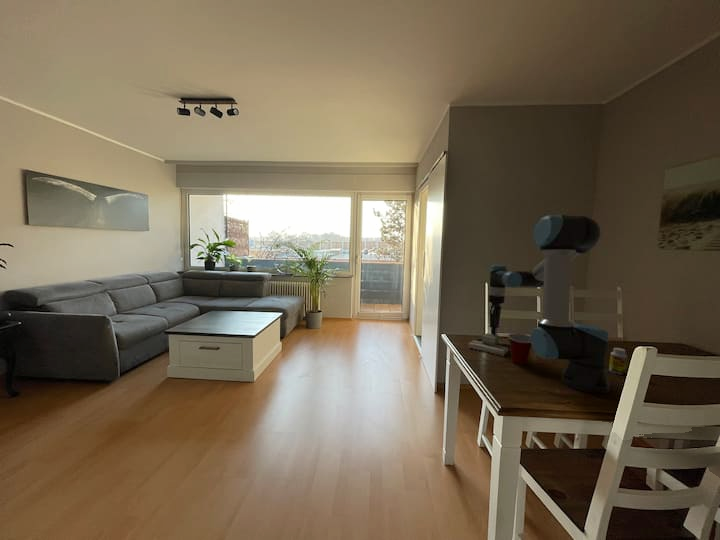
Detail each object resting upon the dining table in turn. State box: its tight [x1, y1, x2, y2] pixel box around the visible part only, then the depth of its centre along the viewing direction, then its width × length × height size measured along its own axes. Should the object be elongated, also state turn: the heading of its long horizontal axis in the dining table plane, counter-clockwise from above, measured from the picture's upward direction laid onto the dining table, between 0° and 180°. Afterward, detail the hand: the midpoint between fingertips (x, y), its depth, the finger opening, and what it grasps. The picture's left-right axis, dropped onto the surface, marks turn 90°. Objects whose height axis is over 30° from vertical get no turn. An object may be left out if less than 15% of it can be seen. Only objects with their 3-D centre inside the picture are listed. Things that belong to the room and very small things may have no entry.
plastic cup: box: [507, 333, 532, 366], centre depth 146 cm, size 11×11×12 cm
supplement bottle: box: [608, 347, 628, 375], centre depth 138 cm, size 6×6×10 cm
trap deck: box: [468, 334, 511, 357], centre depth 167 cm, size 20×17×2 cm
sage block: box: [482, 332, 500, 346], centre depth 165 cm, size 7×6×4 cm
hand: (493, 339), depth 168 cm, fingers closed
